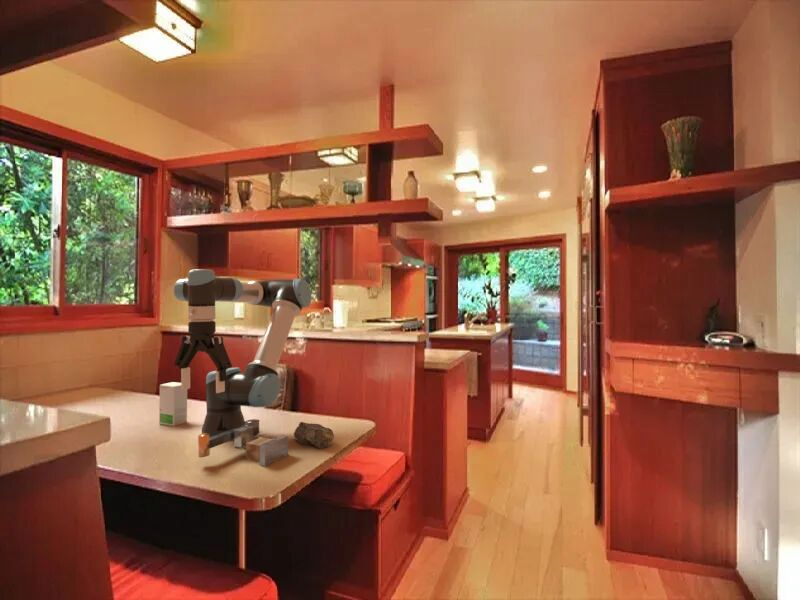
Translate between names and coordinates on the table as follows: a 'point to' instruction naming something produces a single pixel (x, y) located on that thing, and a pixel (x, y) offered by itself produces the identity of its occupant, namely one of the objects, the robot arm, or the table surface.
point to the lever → (228, 437)
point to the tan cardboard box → (255, 448)
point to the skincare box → (172, 404)
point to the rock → (314, 435)
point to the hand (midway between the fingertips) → (202, 390)
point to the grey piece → (272, 449)
